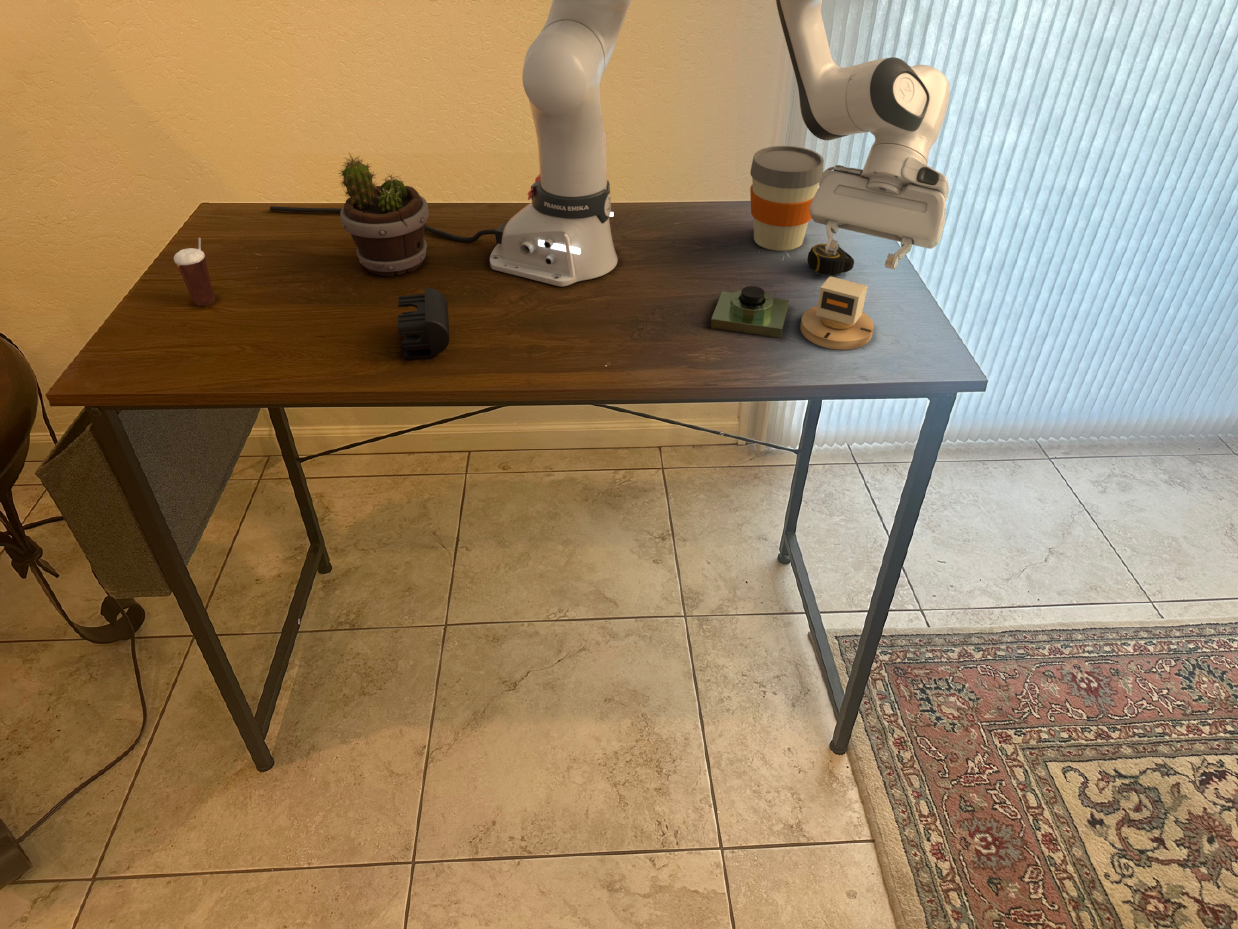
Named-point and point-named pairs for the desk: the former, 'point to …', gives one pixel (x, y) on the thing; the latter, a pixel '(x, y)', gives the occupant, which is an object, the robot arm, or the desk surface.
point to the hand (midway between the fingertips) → (859, 260)
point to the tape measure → (829, 261)
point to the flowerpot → (383, 221)
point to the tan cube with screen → (841, 302)
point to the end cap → (424, 324)
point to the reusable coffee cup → (783, 194)
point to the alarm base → (750, 315)
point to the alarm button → (752, 296)
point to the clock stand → (836, 332)
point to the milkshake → (195, 275)
